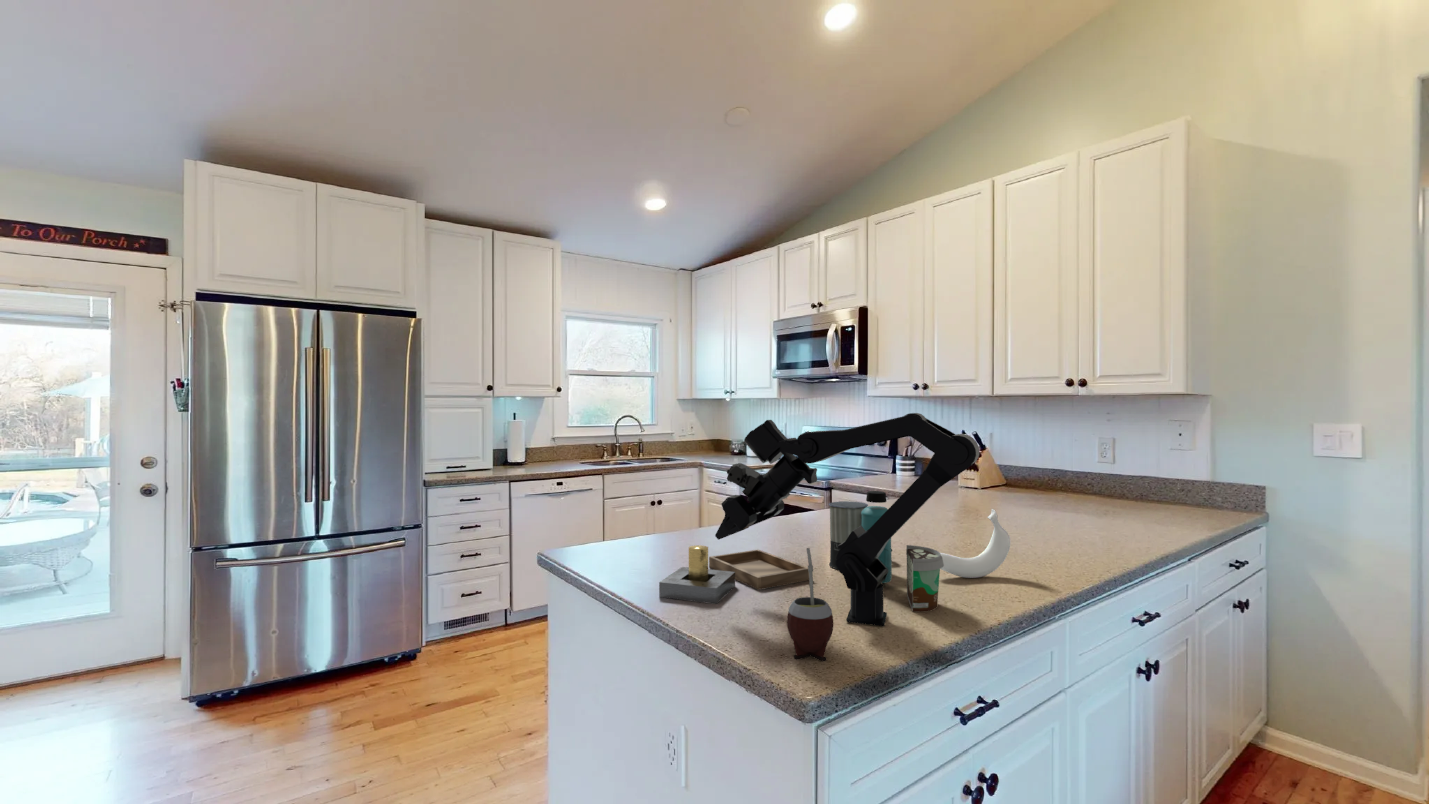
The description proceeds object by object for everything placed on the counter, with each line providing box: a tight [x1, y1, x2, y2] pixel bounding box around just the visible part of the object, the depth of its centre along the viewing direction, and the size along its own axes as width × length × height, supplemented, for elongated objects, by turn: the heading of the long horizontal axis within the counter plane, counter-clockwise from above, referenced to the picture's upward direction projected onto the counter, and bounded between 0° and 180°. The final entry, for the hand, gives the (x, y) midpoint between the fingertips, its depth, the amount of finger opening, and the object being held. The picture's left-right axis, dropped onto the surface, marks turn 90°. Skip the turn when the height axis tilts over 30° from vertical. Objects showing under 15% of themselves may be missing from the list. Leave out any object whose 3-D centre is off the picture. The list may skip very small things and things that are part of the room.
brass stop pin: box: [688, 544, 709, 582], centre depth 125 cm, size 4×4×9 cm
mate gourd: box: [786, 547, 834, 663], centre depth 94 cm, size 8×8×15 cm
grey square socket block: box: [658, 566, 736, 605], centre depth 125 cm, size 12×12×3 cm
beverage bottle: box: [861, 490, 893, 584], centre depth 129 cm, size 6×7×20 cm
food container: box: [905, 544, 944, 613], centre depth 117 cm, size 12×6×10 cm, turn 168°
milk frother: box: [828, 500, 893, 570], centre depth 146 cm, size 14×16×15 cm
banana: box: [940, 508, 1011, 579], centre depth 136 cm, size 5×19×15 cm, turn 100°
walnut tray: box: [708, 549, 809, 591], centre depth 138 cm, size 20×14×2 cm
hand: (727, 533), depth 122 cm, fingers open, 9 cm apart
